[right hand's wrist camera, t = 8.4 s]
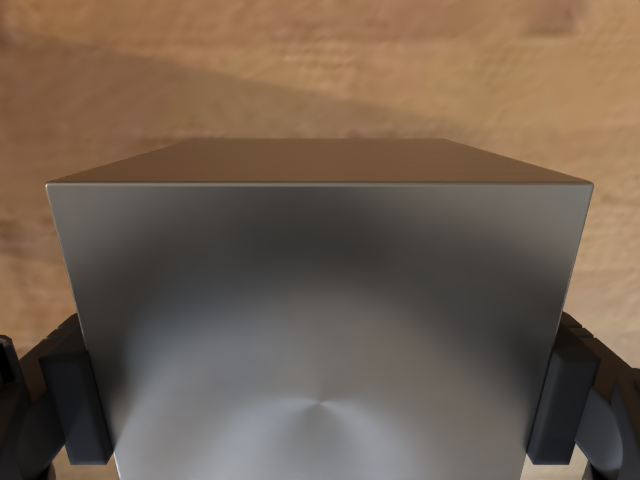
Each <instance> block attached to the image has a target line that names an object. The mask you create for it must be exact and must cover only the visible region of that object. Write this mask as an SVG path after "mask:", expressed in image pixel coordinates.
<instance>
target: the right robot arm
mask: <svg viewBox="0 0 640 480" xmlns="http://www.w3.org/2000/svg"><path fill="white" fill-rule="evenodd" d="M575 443H576V444H577V445H578V447H579V448H580V449H581V450H582V452H583V453H584V454H585V456H586V457H587V458H588V462H587V465H586V468H585V471H584V474H583V477H582V480H640V369H638V368H631V367H630V366H629V365H628V364H627V363H626V362H624V361H623V360H622V359H621V358H620V357H618V356H617V355H616V354H615V353H614V352H613V351H611V350H610V349H609V348H608V347H607V346H606V345H604V344H603V343H602V342H601V341H600V340H598V339H597V338H594V337H593V334H591V333H590V332H589V331H588V330H587V329H586V328H582V325H581V324H580V323H578V322H577V321H576V320H575V319H574V318H573V317H571V316H570V315H569V314H567V313H565V312H564V311H562V315H561V319H560V323H559V327H558V330H557V334H556V338H555V342H554V346H553V350H552V354H551V358H550V362H549V366H548V370H547V374H546V378H545V382H544V386H543V390H542V394H541V398H540V402H539V405H538V409H537V413H536V417H535V421H534V425H533V429H532V433H531V437H530V441H529V445H528V449H527V454H528V456H529V458H530V460H531V461H532V463H533V465H569V463H570V460H571V456H572V453H573V450H574V447H575ZM64 444H65V448H66V451H67V454H68V457H69V461H70V464H71V465H106V464H107V462H108V461H109V459H110V457H111V456H112V454H113V452H112V448H111V444H110V440H109V436H108V432H107V428H106V424H105V420H104V416H103V412H102V408H101V404H100V400H99V397H98V393H97V389H96V385H95V381H94V377H93V373H92V369H91V365H90V361H89V357H88V353H87V349H86V345H85V342H84V338H83V334H82V330H81V326H80V322H79V318H78V314H77V313H75V314H73V315H71V316H70V317H69V318H68V319H67V320H66V321H64V322H63V323H62V324H61V325H60V326H59V327H58V329H55V330H54V331H53V332H52V333H50V334H49V335H48V336H47V338H46V339H43V340H42V341H41V342H40V343H39V344H38V345H36V346H35V347H34V348H33V349H32V350H31V351H29V352H28V353H27V354H26V355H25V356H24V357H22V358H21V359H20V360H18V357H17V354H16V351H15V348H14V345H13V342H12V339H11V338H9V337H7V336H6V335H0V480H56V475H55V468H54V465H53V462H52V460H53V459H54V458H55V456H56V455H57V454H58V452H59V451H60V450H61V448H62V447H63V446H64Z"/></svg>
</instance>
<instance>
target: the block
mask: <svg viewBox="0 0 640 480" xmlns="http://www.w3.org/2000/svg"><path fill="white" fill-rule="evenodd" d="M45 188H46V192H47V196H48V200H49V204H50V208H51V212H52V216H53V220H54V224H55V227H56V231H57V235H58V239H59V243H60V247H61V251H62V255H63V259H64V263H65V267H66V271H67V275H68V279H69V283H70V286H71V290H72V294H73V298H74V302H75V306H76V310H77V314H78V318H79V322H80V326H81V330H82V334H83V338H84V342H85V345H86V349H87V353H88V357H89V361H90V365H91V369H92V373H93V377H94V381H95V385H96V389H97V393H98V397H99V400H100V404H101V408H102V412H103V416H104V420H105V424H106V428H107V432H108V436H109V440H110V444H111V448H112V452H113V456H114V459H115V463H116V467H117V471H118V475H119V479H120V480H520V477H521V473H522V469H523V465H524V461H525V457H526V453H527V449H528V445H529V441H530V437H531V433H532V429H533V425H534V421H535V417H536V413H537V409H538V405H539V402H540V398H541V394H542V390H543V386H544V382H545V378H546V374H547V370H548V366H549V362H550V358H551V354H552V350H553V346H554V342H555V338H556V334H557V330H558V327H559V323H560V319H561V315H562V311H563V307H564V303H565V299H566V295H567V291H568V287H569V283H570V279H571V275H572V271H573V267H574V263H575V259H576V255H577V252H578V248H579V244H580V240H581V236H582V232H583V228H584V224H585V220H586V216H587V212H588V208H589V204H590V200H591V196H592V192H593V188H594V184H593V183H592V182H590V181H587V180H584V179H580V178H577V177H573V176H570V175H567V174H563V173H560V172H556V171H553V170H549V169H546V168H542V167H539V166H536V165H532V164H529V163H525V162H522V161H518V160H515V159H511V158H508V157H505V156H501V155H498V154H494V153H491V152H487V151H484V150H480V149H477V148H474V147H470V146H467V145H463V144H460V143H456V142H453V141H450V140H446V139H193V140H190V141H187V142H183V143H180V144H176V145H173V146H169V147H166V148H162V149H159V150H156V151H152V152H149V153H145V154H142V155H138V156H135V157H131V158H128V159H125V160H121V161H118V162H114V163H111V164H107V165H104V166H100V167H97V168H93V169H90V170H87V171H83V172H80V173H76V174H73V175H69V176H66V177H62V178H59V179H56V180H52V181H49V182H47V183H46V184H45Z"/></svg>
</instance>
